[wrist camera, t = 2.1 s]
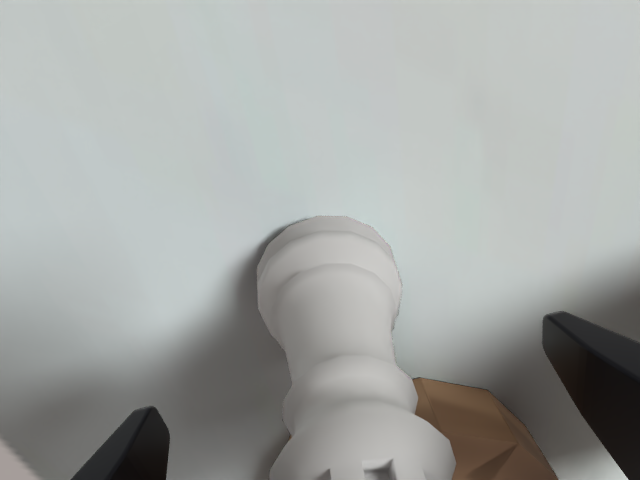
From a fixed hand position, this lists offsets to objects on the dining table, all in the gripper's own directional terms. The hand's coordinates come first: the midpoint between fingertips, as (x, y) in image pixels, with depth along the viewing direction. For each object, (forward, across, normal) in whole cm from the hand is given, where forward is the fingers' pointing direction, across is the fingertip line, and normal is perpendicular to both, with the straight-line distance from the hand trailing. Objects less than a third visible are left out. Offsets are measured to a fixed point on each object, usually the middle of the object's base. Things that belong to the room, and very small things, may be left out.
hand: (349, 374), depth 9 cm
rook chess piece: (+5, 0, 0) cm, 5 cm away
